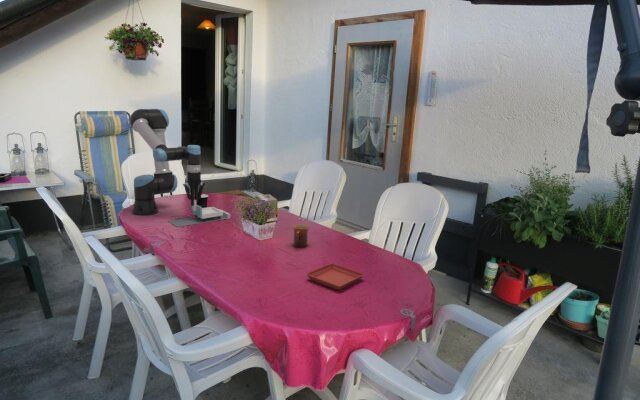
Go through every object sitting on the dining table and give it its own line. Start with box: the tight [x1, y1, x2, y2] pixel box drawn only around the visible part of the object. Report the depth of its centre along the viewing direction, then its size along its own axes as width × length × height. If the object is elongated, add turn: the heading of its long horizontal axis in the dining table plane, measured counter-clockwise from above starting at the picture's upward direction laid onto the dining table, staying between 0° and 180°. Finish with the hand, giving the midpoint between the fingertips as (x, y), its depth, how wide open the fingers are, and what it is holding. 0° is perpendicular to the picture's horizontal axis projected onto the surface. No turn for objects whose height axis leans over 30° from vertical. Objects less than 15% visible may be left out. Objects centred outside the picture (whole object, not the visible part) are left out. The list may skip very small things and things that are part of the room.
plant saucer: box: [306, 263, 364, 291], centre depth 185 cm, size 18×18×3 cm
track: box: [167, 208, 232, 228], centre depth 262 cm, size 14×34×3 cm, turn 130°
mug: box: [292, 223, 310, 248], centre depth 223 cm, size 12×9×10 cm
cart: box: [190, 204, 224, 221], centre depth 264 cm, size 14×15×9 cm
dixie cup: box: [198, 193, 209, 208], centre depth 279 cm, size 8×8×11 cm
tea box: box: [254, 194, 279, 219], centre depth 267 cm, size 15×10×15 cm
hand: (194, 210), depth 259 cm, fingers closed
